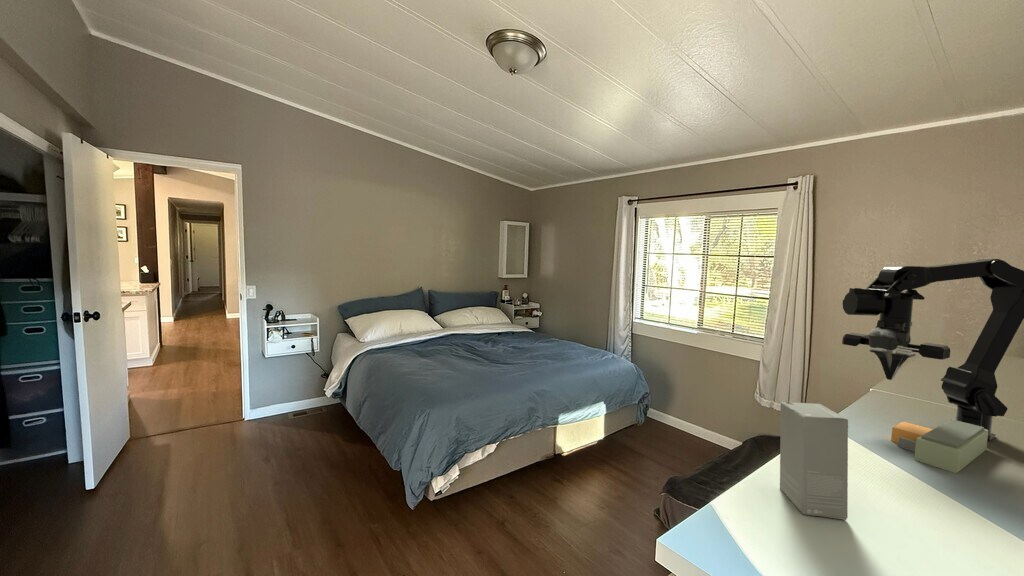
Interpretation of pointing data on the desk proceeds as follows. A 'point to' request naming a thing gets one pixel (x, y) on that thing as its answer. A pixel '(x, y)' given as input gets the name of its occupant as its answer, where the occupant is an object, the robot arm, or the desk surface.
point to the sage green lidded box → (949, 445)
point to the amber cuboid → (907, 431)
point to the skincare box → (814, 459)
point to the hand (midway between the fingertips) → (889, 379)
